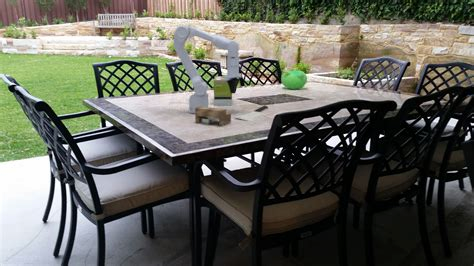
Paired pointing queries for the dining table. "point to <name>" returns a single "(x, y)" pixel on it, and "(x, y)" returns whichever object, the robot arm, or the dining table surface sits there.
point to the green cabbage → (294, 78)
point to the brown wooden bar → (209, 120)
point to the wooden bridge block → (212, 114)
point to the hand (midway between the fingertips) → (233, 93)
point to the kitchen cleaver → (252, 114)
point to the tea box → (222, 92)
